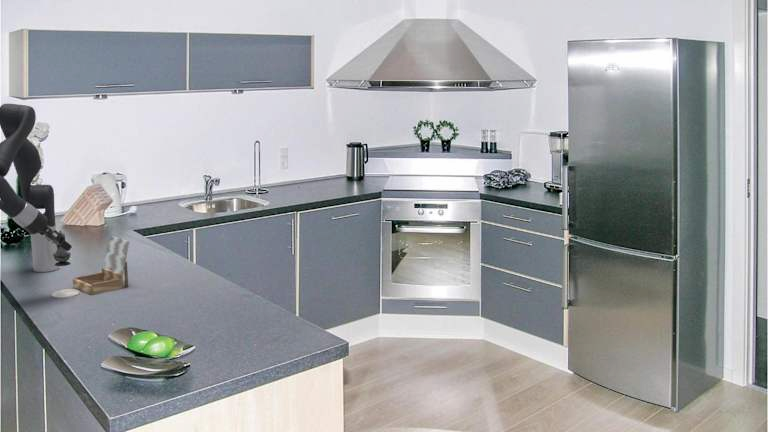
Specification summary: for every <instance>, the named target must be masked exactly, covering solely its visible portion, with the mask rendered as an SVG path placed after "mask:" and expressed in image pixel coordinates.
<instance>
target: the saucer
mask: <svg viewBox="0 0 768 432" xmlns="http://www.w3.org/2000/svg"><path fill="white" fill-rule="evenodd" d="M79 294H80V290H79V289H77V288H67V289H58V290H54V291H53V292H52V293H51V297H52V298H56V299H57V298H59V299H64V298H71V297H72V298H73V297H75V295H76V296H78V295H79Z"/></svg>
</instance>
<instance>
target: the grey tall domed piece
mask: <svg viewBox="0 0 768 432" xmlns="http://www.w3.org/2000/svg"><path fill="white" fill-rule="evenodd" d="M58 233H59V234H60V235H62V236H63V237H64V238H65V239H66V236H65V235H66V234H65V233H64V232H62V231H61V230H59V232H58ZM59 240H60V239H59ZM56 245H57V252H56V253H55V254H53V256H54V259H55V260H56V261H58V262H57V263H56V264H54V265H55V266H59V267H65V266H69V265H71V264H72V263H71V262H70V261H69V259H70V258H71V255H72V253H71V252H69V251H67V250H65V249H64V248H63V247H61V246H60V245H58V244H57V243H56Z"/></svg>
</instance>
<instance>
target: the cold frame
mask: <svg viewBox="0 0 768 432" xmlns="http://www.w3.org/2000/svg"><path fill="white" fill-rule="evenodd" d="M129 244H130V241H129V240H126V239H122V238H119V237H116V236H113V235H108V240H107V247H106V251H105V256H104V261H103V267H101V272H95V273H92V274H85V275H80V276H75V278H73V279H72V285H73V286H72V287H73V289H76V290H79V291H80V292H81V291H82V292H84V293H87V294H88V295H96V294H101V293H105V292H106V293H107V292H110V291H115V290H120V289H124V287H126V288H127V286H128V287H129V275H128V274H129V273H128V262H127V261H126V260H127V255H128V250H129V249H128V248H129ZM123 275H124V279H123Z"/></svg>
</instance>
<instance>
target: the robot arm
mask: <svg viewBox="0 0 768 432" xmlns="http://www.w3.org/2000/svg"><path fill="white" fill-rule="evenodd" d="M36 115H37V114H36V111H35V109H34V108H33V107H32V106H29V105H26V104H25V105H24V104H17V103H16V104H15V103H3V104H1V105H0V129H1V131H2V133H3V135H4V138H5V139H4V140H2V141H1V142H0V211H2V212H3V213H4V214H5V215H7V216H8V217H9V218H11V219H12V220H13V221H14V222H15V223H16V224H17V225H18V226H20V227H21V228H22V229H24V231H26V232H28V233H29V234H30V243H31V245H30V246H31V255H32V267H33V271H34V272H36V273H37V272H38V273H47V272H48V273H49V272H53V271H57V270H58V269H60V266H55V265H54V264H56V263H57V262H58V261H56V260H55V259H54V256H53V254H55V253H56V252H57V245H56V243H57V244H58V245H60V246H61V247H63V248H64V249H65V250H67V252H69V251H70V250H71V249H72V248H73V247H72V246H73V245H71V244H70V243H69V242H68V241H66V237H65V238H64V237H63V236H62V235H60V234H59V232H58V230H57V227H56V226H57V224H56V216H55V215H56V214H55V212H56V211H55V193H54V188H53V186H52V185H51V184H32V182H33V181H34V179H35V178H36V176H37V175H38V174H39V172H40V171H41V168H42V160H41V156H40V153H39V150H38V148H37V146H35V144H34V143H33V142H32V141H30V139H28V137H29V136H30V134H31V133H32V131H33V129H34V127H35V124H36V120H37V118H36V117H37V116H36ZM12 164H13V166H14V169H15V171H16V175H17V178H18V181H19V187H20V191H21V196H22V197H21V196H19V195H18V194H17V193H16V191H15V189H14V188H13V187H12V186H11V184H10V182H8V180H7V179H6V178H5V177H6V176H7V175H8V173H9V171H10V169H11V167H12ZM43 209H44V212H43V213H42V212H41V211H40V210H43ZM59 239H60V240H59Z"/></svg>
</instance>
